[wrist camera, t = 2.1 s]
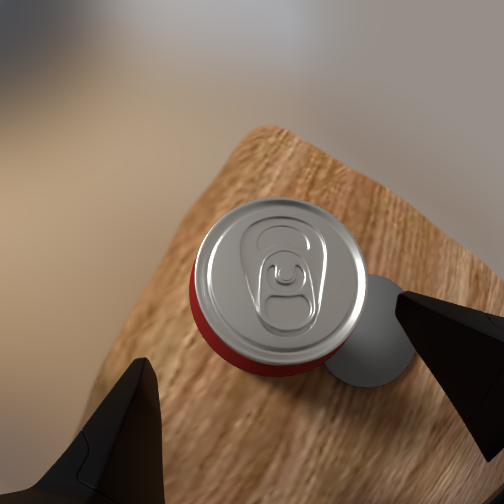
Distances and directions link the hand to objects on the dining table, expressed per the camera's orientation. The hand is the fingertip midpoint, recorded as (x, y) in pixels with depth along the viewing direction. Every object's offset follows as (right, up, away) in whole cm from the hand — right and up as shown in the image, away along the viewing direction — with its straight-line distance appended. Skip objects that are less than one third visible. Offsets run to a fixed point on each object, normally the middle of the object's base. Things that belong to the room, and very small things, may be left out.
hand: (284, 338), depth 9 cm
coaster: (+7, -3, +9) cm, 12 cm away
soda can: (-1, -2, +9) cm, 10 cm away
